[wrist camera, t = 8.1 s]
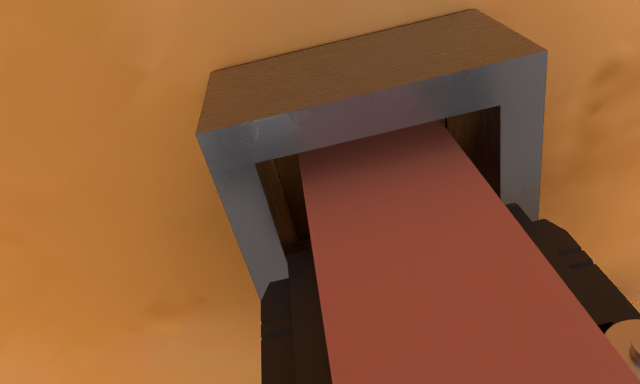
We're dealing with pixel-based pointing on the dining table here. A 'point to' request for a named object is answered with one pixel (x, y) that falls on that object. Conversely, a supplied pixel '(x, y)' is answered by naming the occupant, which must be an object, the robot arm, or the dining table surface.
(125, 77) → the dining table surface
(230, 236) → the dining table surface
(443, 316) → the red rectangular block
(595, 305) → the robot arm
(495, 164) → the grey stand
